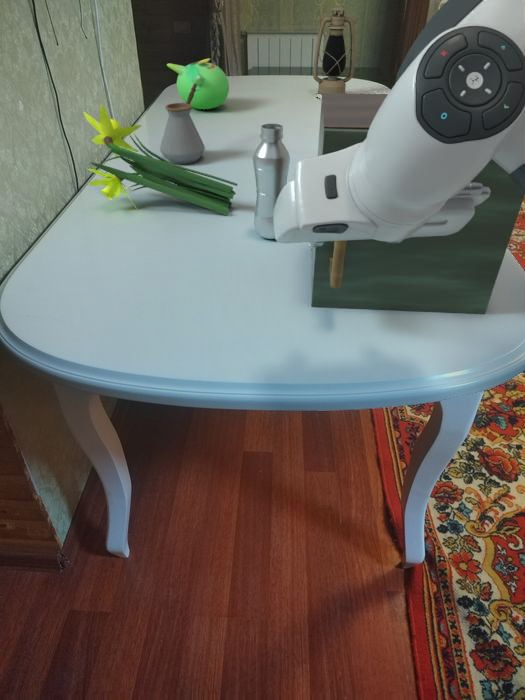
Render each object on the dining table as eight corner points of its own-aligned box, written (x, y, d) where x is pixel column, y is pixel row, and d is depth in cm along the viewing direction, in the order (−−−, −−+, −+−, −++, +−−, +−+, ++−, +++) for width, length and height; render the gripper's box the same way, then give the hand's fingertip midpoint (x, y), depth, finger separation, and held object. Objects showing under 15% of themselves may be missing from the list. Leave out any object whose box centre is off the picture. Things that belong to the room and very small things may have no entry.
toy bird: (239, 108, 172) (238, 59, 163) (203, 118, 162) (199, 66, 153) (202, 99, 181) (199, 52, 172) (166, 109, 171) (161, 59, 162)
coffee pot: (198, 168, 127) (193, 103, 117) (154, 165, 129) (146, 101, 119) (220, 142, 143) (217, 83, 134) (181, 140, 145) (175, 81, 135)
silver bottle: (282, 245, 95) (285, 133, 82) (248, 239, 97) (246, 129, 84) (292, 231, 99) (297, 123, 87) (260, 225, 101) (260, 119, 89)
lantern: (347, 92, 190) (356, -5, 172) (354, 99, 181) (365, -2, 162) (309, 93, 190) (314, -5, 171) (314, 100, 180) (320, -2, 161)
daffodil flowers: (216, 236, 100) (47, 176, 99) (224, 241, 114) (76, 189, 113) (244, 151, 97) (71, 89, 97) (248, 168, 112) (98, 114, 111)
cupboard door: (495, 337, 73) (563, 151, 56) (311, 328, 74) (325, 145, 58) (483, 310, 78) (542, 133, 61) (311, 303, 79) (324, 128, 63)
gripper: (495, 153, 47) (435, 209, 61) (279, 160, 46) (267, 216, 60) (503, 217, 47) (441, 260, 61) (284, 228, 45) (271, 269, 59)
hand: (353, 238), depth 60 cm, fingers open, 8 cm apart
